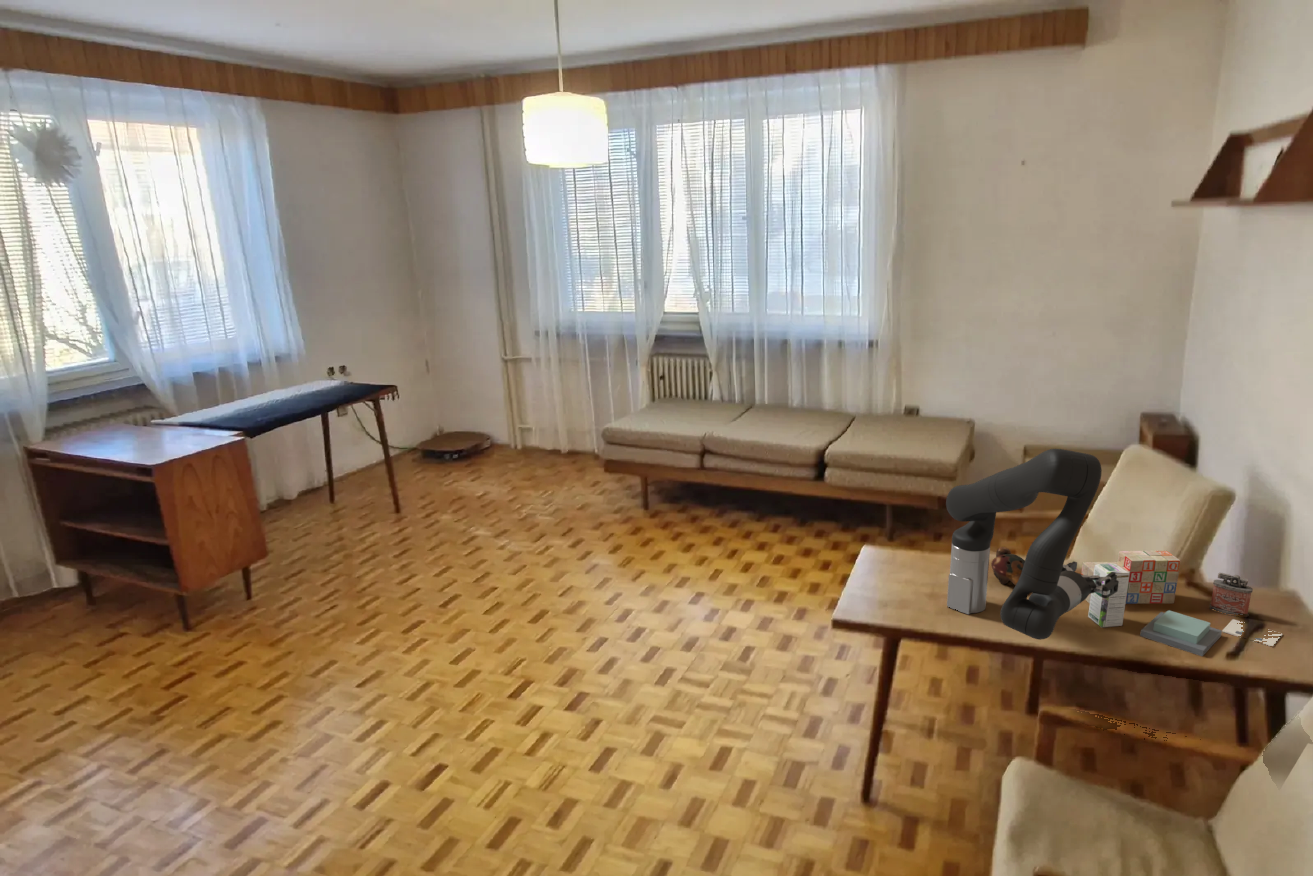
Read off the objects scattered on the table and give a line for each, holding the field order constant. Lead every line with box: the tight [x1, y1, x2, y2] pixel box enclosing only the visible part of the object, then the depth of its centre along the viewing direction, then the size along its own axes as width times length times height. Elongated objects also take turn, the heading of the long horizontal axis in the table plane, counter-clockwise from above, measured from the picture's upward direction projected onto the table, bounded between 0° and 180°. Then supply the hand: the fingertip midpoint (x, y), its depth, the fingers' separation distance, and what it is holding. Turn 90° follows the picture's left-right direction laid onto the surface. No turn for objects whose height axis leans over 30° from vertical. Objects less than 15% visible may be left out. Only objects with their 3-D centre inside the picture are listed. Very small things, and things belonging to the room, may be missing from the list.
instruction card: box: [1222, 618, 1283, 647], centre depth 193 cm, size 8×10×1 cm
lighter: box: [1209, 572, 1254, 615], centre depth 201 cm, size 8×3×10 cm, turn 47°
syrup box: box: [1087, 563, 1130, 628], centre depth 199 cm, size 6×6×14 cm
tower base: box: [1139, 609, 1223, 657], centre depth 192 cm, size 13×13×4 cm
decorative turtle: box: [991, 546, 1025, 586], centre depth 223 cm, size 10×15×8 cm, turn 5°
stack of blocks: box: [1080, 549, 1181, 605], centre depth 210 cm, size 21×6×12 cm, turn 87°
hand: (1094, 570), depth 189 cm, fingers open, 8 cm apart
